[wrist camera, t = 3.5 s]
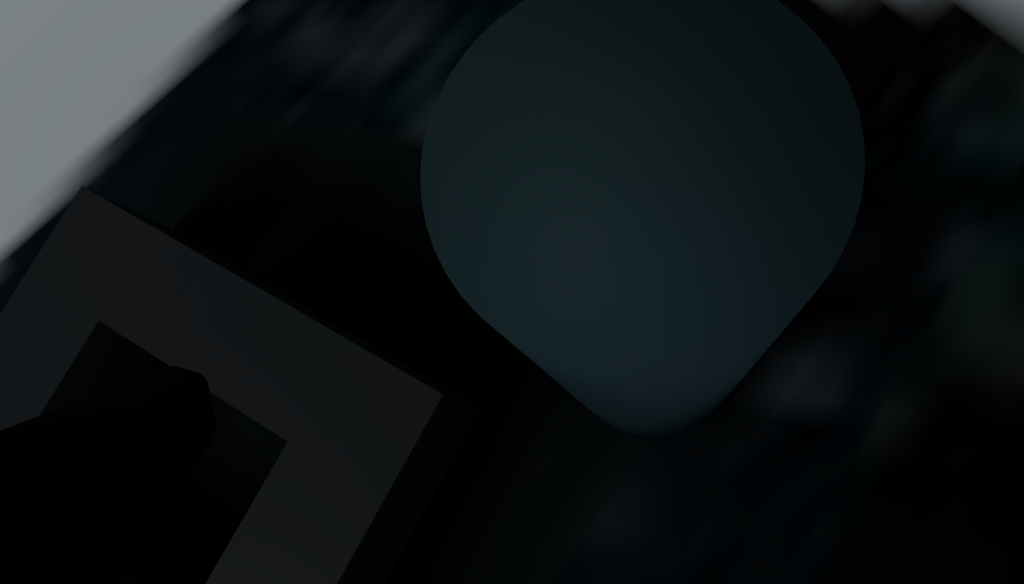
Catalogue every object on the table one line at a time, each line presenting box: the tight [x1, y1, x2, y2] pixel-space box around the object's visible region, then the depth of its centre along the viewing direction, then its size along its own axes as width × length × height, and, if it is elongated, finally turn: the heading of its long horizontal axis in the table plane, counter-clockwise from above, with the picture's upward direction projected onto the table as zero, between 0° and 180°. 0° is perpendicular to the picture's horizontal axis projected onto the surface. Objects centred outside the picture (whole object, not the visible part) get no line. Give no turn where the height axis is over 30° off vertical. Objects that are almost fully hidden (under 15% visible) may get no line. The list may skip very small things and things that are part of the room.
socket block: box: [0, 186, 482, 584], centre depth 21 cm, size 12×12×4 cm
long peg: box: [420, 0, 865, 439], centre depth 14 cm, size 4×4×14 cm
